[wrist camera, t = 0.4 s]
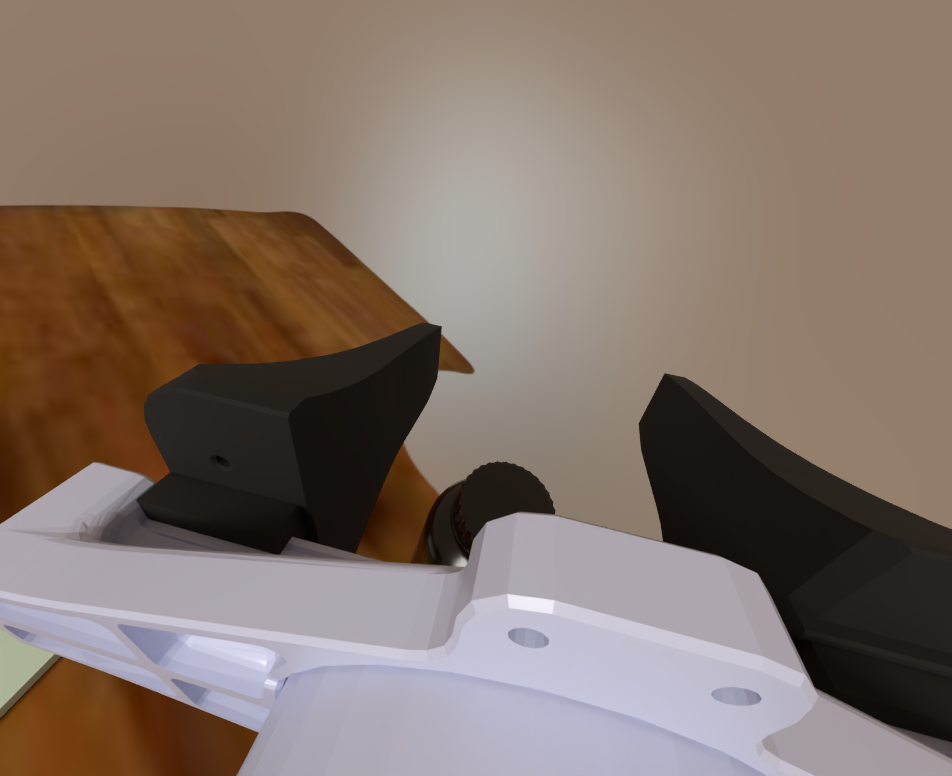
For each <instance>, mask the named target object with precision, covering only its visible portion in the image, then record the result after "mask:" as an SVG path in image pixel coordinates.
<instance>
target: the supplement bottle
mask: <svg viewBox="0 0 952 776" xmlns="http://www.w3.org/2000/svg"><path fill="white" fill-rule="evenodd" d="M517 512H530V513H543V514H554V515H555V509H554V507H553V501H552V499H551V498H550V495H549V492H548V491H547V490H546V489H545V486H544V485H543V484H542V483H541V482H540V481H539V479H538V478H537V477H536V476H534V475H533V474H532V473H531V472H530V471H527V470H525V469H524V468H523V467H519V466H517V465H515V464H510V463H508V462H502V463H501V462H498V461H497V462H495V463H488V464H486V465H481V466H480V467H479V468H478V469H475V470H473V472H472V474H470V475H469V476H467V478H466V479H464V480H461V481H459V482H457V483H455V484H453V485H451V486H450V487H448V488H447V489H446V490H445V491H444V492H443V493H442V494H441V495H440V496H439V497H438V498H437V500H436V501H435V503H434V504H433V506H432V508H431V510H430V512H429V514H428V517H427V519H426V522H425V525H424V527H423V530H422V533H421V535H420V538H419V541H418V544H417V546H416V549H415V552H414V554H413V557H412V561H411V563H412V564H428V565H443V566H458V567H466V565H467V563H468V561H469V557H470V552H471V548H472V543H473V540H474V538H475V537H476V536H477V534H478V533H479V532H480V530H481V529H482V528H483V527H484V525H485V524H486V523H487V522H489V521H492V520H495V519H498V518H501V517H504V516H508V515H511V514H514V513H517Z"/></svg>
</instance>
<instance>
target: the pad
mask: <svg viewBox="0 0 952 776" xmlns="http://www.w3.org/2000/svg"><path fill="white" fill-rule="evenodd" d="M60 657H61V656H59V655H56V654H53V653H50V652H47V651H44V650H41V649H38V648H35V647H33V646H29V645H26V644H23V643H21V642H19V641H18V640H16V639H15V638H14V637H12V636H11V635H9V634H8V633H6V632H5V631H3V630H2V629H1V628H0V718H1V717H2V716H3V715H4V714H5V713H6V712H7V711H8V710H9V709H10V708H11V707H12V706H13V705H14V704H15V703H16V702H17V701H18V700H19V699H20V698H21V697H22V696H23V695H24V694H25V692H26V691H27V690H28V689H29V688H30V687H31V686H32V685H33V684H34V683H35V682H36V681H37V680H38V679H39V678H40V677H41V676H42V675H43V674H44V673H45V672H46V671H47V670H48V669H49V668H50V667H51V666H52V665H53V664H54V663H55V662H56V661H57V660H58V659H59V658H60Z"/></svg>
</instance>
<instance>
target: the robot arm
mask: <svg viewBox="0 0 952 776" xmlns="http://www.w3.org/2000/svg"><path fill="white" fill-rule="evenodd" d="M441 329H442V327H441V326H438V325H433V324H428V323H421V324H418V325H415V326H412V327H410V328H408V329H405V330H403V331H400V332H398V333H395V334H393V335H391V336H388V337H386V338H383V339H380V340H377V341H374V342H372V343H369V344H366V345H363V346H360V347H357V348H354V349H350V350H346V351H342V352H338V353H334V354H330V355H325V356H319V357H312V358H306V359H300V360H293V361H284V362H273V363H258V364H199V365H197V366H195V367H193V368H192V369H190V370H188V371H187V372H185V373H183V374H182V375H180V376H179V377H177V378H175V379H173V380H172V381H170V382H168V383H167V384H165V385H163V386H161V387H160V388H158V389H156V390H155V391H153V392H152V393H150V394H149V395H148V397H147V399H146V401H145V403H144V416H145V421H146V424H147V427H148V429H149V432H150V434H151V436H152V438H153V439H154V441H155V443H156V445H157V447H158V449H159V451H160V453H161V455H162V457H163V459H164V461H165V463H166V465H167V467H168V468H169V470H170V473H169V474H167V475H166V476H165V477H164V478H163V479H161V480H160V481H159V482H158V483H155V481H153V480H152V479H150V478H149V477H148V476H145V475H143V474H141V473H137V472H134V471H130V470H126V469H122V468H119V467H115V466H111V465H107V464H104V463H92V464H91V465H89V466H88V467H86V468H85V469H83V470H82V471H80V472H79V473H77V474H76V475H74V476H72V477H71V478H69V479H68V480H66V481H65V482H63V483H62V484H60V485H59V486H57V487H56V488H54V489H53V490H51V491H50V492H48V493H47V494H45V495H44V496H42V497H41V498H39V499H38V500H36V501H35V502H33V503H32V504H30V505H29V506H27V507H26V508H24V509H23V510H21V511H20V512H18V513H17V514H15V515H14V516H12V517H11V518H9V519H8V520H6V521H5V522H3V523H2V524H0V628H1V629H2V630H3V631H5V632H6V633H8V634H9V635H11V636H12V637H14V638H15V639H16V640H18V641H19V642H21V643H23V644H26V645H29V646H33V647H35V648H38V649H41V650H44V651H47V652H50V653H53V654H56V655H59V656H62V657H65V658H68V659H71V660H74V661H77V662H79V663H82V664H85V665H88V666H90V667H93V668H96V669H99V670H101V671H104V672H107V673H109V674H112V675H115V676H117V677H120V678H122V679H125V680H128V681H130V682H133V683H135V684H138V685H141V686H143V687H146V688H148V689H151V690H153V691H156V692H158V693H161V694H163V695H166V696H168V697H171V698H173V699H176V700H178V701H181V702H183V703H186V704H189V705H191V706H194V707H196V708H199V709H201V710H204V711H206V712H209V713H211V714H214V715H216V716H219V717H221V718H224V719H226V720H229V721H231V722H234V723H236V724H239V725H241V726H244V727H246V728H249V729H251V730H254V731H257V732H259V734H258V736H257V738H256V740H255V742H254V744H253V746H252V747H251V749H250V751H249V753H248V755H247V757H246V759H245V761H244V763H243V765H242V767H241V769H240V771H239V773H238V774H237V776H952V529H949V528H947V527H944V526H942V525H939V524H936V523H934V522H932V521H929V520H927V519H925V518H922V517H920V516H918V515H916V514H913V513H911V512H909V511H907V510H905V509H902V508H900V507H898V506H896V505H893V504H891V503H889V502H887V501H885V500H883V499H880V498H878V497H876V496H874V495H872V494H870V493H868V492H866V491H864V490H862V489H859V488H858V487H856V486H854V485H852V484H850V483H848V482H846V481H844V480H842V479H840V478H838V477H836V476H834V475H832V474H830V473H828V472H827V471H825V470H823V469H821V468H819V467H817V466H816V465H814V464H812V463H810V462H809V461H807V460H806V459H804V458H802V457H801V456H799V455H797V454H795V453H794V452H792V451H790V450H789V449H787V448H785V447H784V446H782V445H780V444H779V443H777V442H776V441H774V440H773V439H771V438H770V437H769V436H767V435H766V434H764V433H763V432H761V431H760V430H758V429H757V428H755V427H754V426H752V425H751V424H750V423H748V422H747V421H745V420H744V419H742V418H741V417H740V416H738V415H737V414H736V413H735V412H733V411H732V410H731V409H729V408H728V407H727V406H725V405H724V404H723V403H721V402H720V401H719V400H717V399H716V398H715V397H713V396H712V395H710V394H709V393H708V392H707V391H705V390H704V389H702V388H701V387H700V386H698V385H697V384H695V383H694V382H692V381H690V380H688V379H687V378H684V377H680V376H675V375H670V374H664V376H663V378H662V380H661V381H660V383H659V386H658V387H657V389H656V391H655V393H654V395H653V397H652V399H651V401H650V403H649V405H648V407H647V409H646V411H645V412H644V414H643V416H642V418H641V420H640V422H639V431H640V442H641V450H642V455H643V459H644V462H645V466H646V470H647V474H648V477H649V481H650V484H651V488H652V492H653V495H654V499H655V502H656V506H657V510H658V514H659V519H660V523H661V530H662V537H663V542H662V541H658V540H654V539H650V538H646V537H642V536H638V535H634V534H630V533H625V532H622V531H618V530H614V529H610V528H606V527H602V526H598V525H594V524H590V523H586V522H582V521H578V520H574V519H570V518H566V517H562V516H558V515H554V514H543V513H530V512H517V513H514V514H511V515H508V516H504V517H501V518H498V519H495V520H492V521H489V522H487V523H486V524H485V525H484V527H483V528H482V529H481V530H480V532H479V533H478V534H477V536H476V537H475V538H474V540H473V543H472V548H471V552H470V557H469V561H468V563H467V565H466V567H458V566H443V565H428V564H412V563H397V562H383V561H380V560H376V559H372V558H369V557H365V556H361V555H358V554H355V553H356V550H357V547H358V545H359V542H360V540H361V537H362V535H363V532H364V530H365V527H366V525H367V522H368V520H369V517H370V515H371V512H372V510H373V507H374V505H375V502H376V500H377V498H378V495H379V493H380V491H381V488H382V486H383V484H384V481H385V479H386V477H387V475H388V472H389V470H390V468H391V466H392V463H393V461H394V459H395V457H396V455H397V453H398V451H399V449H400V448H401V446H402V444H403V442H404V441H405V439H406V437H407V436H408V434H409V432H410V431H411V429H412V427H413V426H414V424H415V422H416V420H417V419H418V417H419V416H420V414H421V412H422V411H423V409H424V407H425V405H426V404H427V402H428V400H429V397H430V395H431V393H432V390H433V388H434V385H435V383H436V380H437V374H438V363H439V352H440V340H441Z"/></svg>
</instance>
